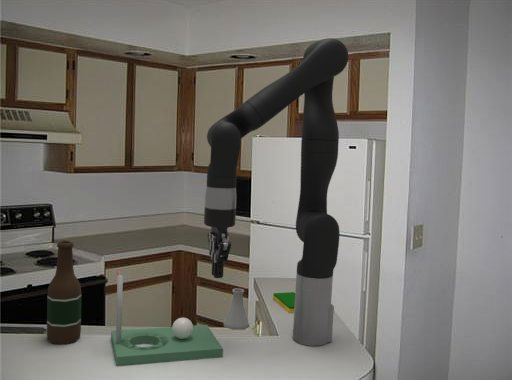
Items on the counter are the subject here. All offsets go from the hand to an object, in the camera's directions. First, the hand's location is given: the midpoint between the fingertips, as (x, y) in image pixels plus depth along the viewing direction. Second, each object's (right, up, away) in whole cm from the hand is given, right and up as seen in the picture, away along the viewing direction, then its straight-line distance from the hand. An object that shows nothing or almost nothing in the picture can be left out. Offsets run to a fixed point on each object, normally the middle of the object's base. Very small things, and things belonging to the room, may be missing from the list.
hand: (217, 276), depth 136 cm
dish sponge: (+20, -15, +35) cm, 44 cm away
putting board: (-12, -17, -2) cm, 21 cm away
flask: (+4, -16, +15) cm, 22 cm away
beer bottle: (-37, -15, 0) cm, 40 cm away
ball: (-8, -12, -1) cm, 15 cm away
